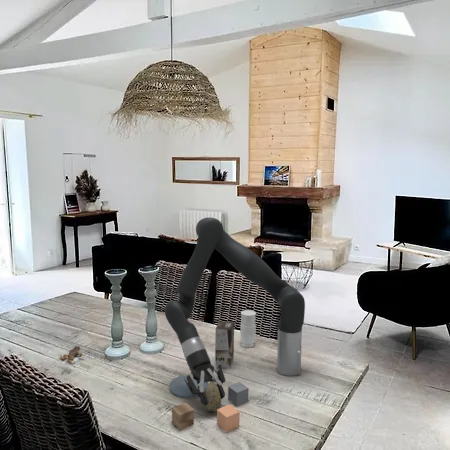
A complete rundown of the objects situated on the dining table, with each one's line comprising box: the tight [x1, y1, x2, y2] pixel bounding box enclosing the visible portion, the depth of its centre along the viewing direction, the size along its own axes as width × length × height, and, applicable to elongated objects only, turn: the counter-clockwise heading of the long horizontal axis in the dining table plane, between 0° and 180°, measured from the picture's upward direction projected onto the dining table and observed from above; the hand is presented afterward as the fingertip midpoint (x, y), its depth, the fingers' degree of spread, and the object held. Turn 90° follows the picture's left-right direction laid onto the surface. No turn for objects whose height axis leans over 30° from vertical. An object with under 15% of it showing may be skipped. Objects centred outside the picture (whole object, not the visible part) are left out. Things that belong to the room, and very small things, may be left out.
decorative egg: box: [202, 381, 222, 413], centre depth 137 cm, size 6×6×10 cm
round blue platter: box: [169, 374, 209, 399], centre depth 152 cm, size 14×14×1 cm
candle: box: [239, 309, 257, 348], centre depth 187 cm, size 7×7×15 cm
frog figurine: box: [58, 345, 87, 366], centre depth 174 cm, size 12×12×4 cm
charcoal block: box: [227, 381, 250, 407], centre depth 144 cm, size 5×5×5 cm
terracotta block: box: [216, 403, 241, 433], centre depth 130 cm, size 5×5×5 cm
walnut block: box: [171, 402, 195, 431], centre depth 131 cm, size 5×5×5 cm
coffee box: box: [214, 320, 235, 369], centre depth 170 cm, size 9×6×16 cm
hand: (214, 401), depth 136 cm, fingers closed on decorative egg, 6 cm apart
